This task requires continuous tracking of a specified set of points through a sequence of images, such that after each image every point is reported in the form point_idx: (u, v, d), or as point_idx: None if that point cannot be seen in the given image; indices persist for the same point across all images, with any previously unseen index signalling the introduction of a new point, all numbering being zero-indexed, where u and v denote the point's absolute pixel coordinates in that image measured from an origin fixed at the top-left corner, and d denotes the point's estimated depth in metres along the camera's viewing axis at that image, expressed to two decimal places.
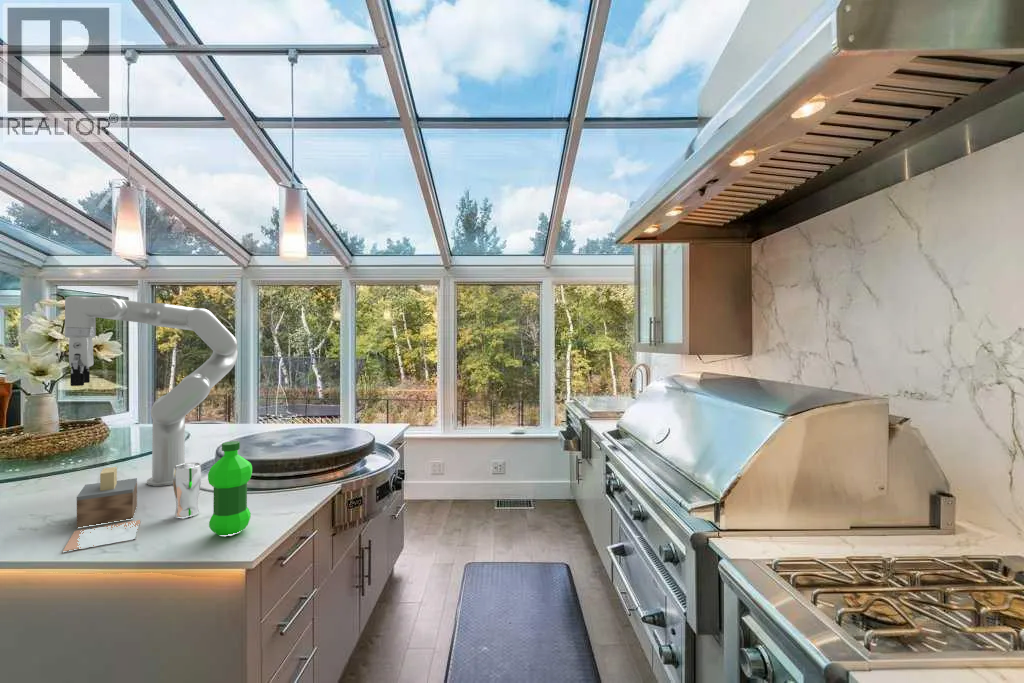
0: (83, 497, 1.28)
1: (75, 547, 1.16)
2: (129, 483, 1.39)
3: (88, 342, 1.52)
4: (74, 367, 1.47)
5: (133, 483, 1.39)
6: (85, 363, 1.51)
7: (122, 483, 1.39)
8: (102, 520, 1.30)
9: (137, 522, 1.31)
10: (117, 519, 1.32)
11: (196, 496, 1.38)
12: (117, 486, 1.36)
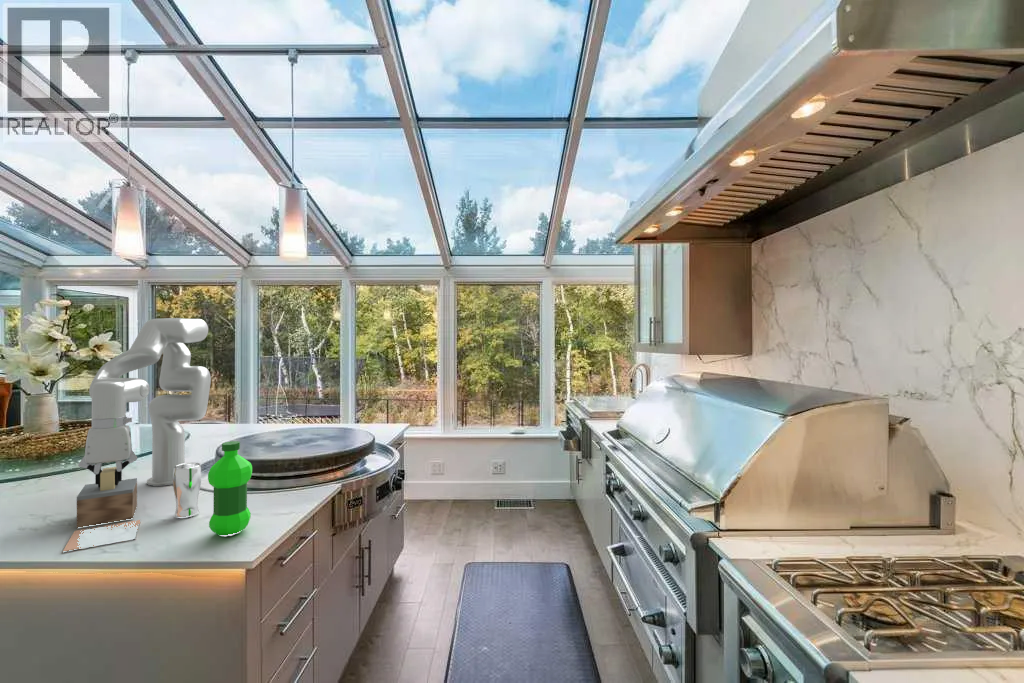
0: (83, 497, 1.28)
1: (75, 547, 1.16)
2: (129, 483, 1.39)
3: None
4: None
5: (133, 483, 1.39)
6: None
7: (122, 483, 1.39)
8: (102, 520, 1.30)
9: (137, 522, 1.31)
10: (117, 519, 1.32)
11: (196, 496, 1.38)
12: (117, 486, 1.36)
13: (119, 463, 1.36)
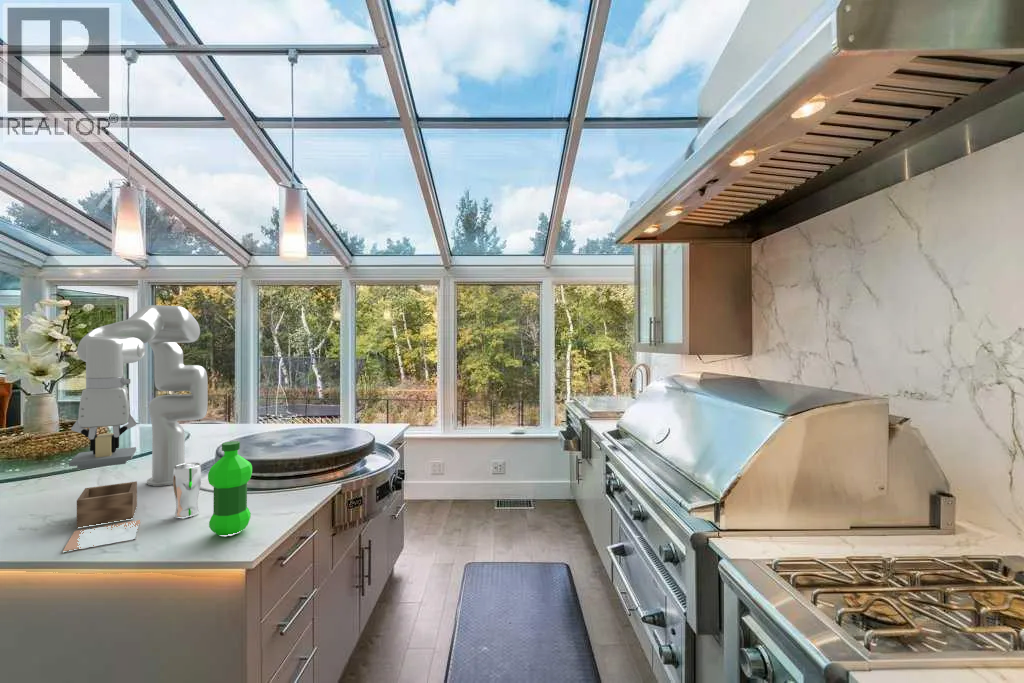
0: (76, 463, 1.15)
1: (75, 547, 1.16)
2: (127, 451, 1.26)
3: None
4: None
5: (132, 451, 1.26)
6: None
7: (120, 451, 1.26)
8: (102, 520, 1.30)
9: (137, 522, 1.31)
10: (117, 519, 1.32)
11: (196, 496, 1.38)
12: (114, 453, 1.23)
13: (116, 428, 1.23)
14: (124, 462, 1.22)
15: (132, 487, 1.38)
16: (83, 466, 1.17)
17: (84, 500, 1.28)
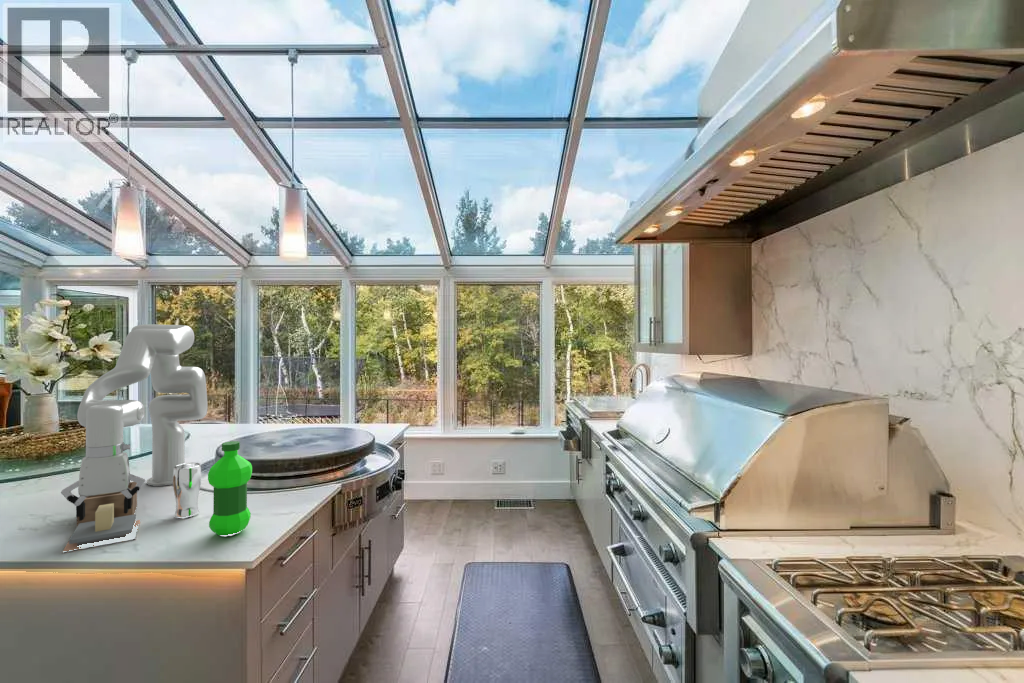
0: (76, 540, 1.16)
1: (75, 547, 1.16)
2: (127, 521, 1.26)
3: None
4: (140, 487, 1.27)
5: (132, 521, 1.26)
6: (129, 481, 1.28)
7: (119, 521, 1.26)
8: None
9: (137, 522, 1.31)
10: None
11: (196, 496, 1.38)
12: (114, 525, 1.24)
13: (125, 491, 1.24)
14: (124, 535, 1.22)
15: (132, 487, 1.38)
16: (83, 542, 1.17)
17: (84, 500, 1.28)
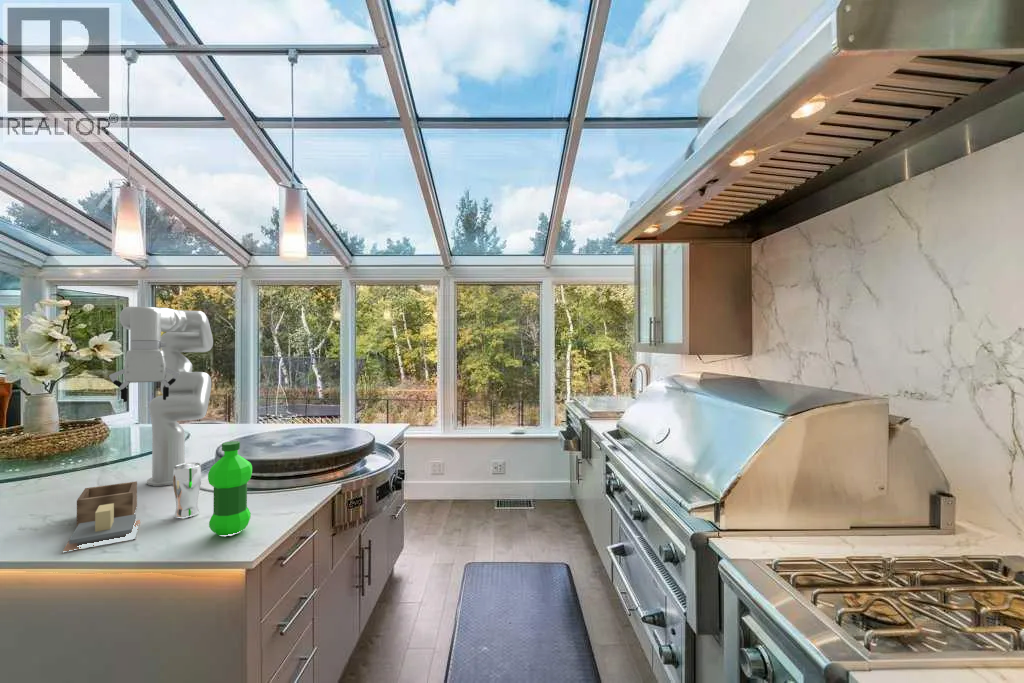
0: (76, 540, 1.16)
1: (75, 547, 1.16)
2: (127, 521, 1.26)
3: None
4: (176, 379, 1.48)
5: (132, 521, 1.26)
6: (165, 375, 1.49)
7: (119, 521, 1.26)
8: None
9: (137, 522, 1.31)
10: None
11: (196, 496, 1.38)
12: (114, 525, 1.24)
13: (163, 380, 1.46)
14: (124, 535, 1.22)
15: (132, 487, 1.38)
16: (83, 542, 1.17)
17: (84, 500, 1.28)
